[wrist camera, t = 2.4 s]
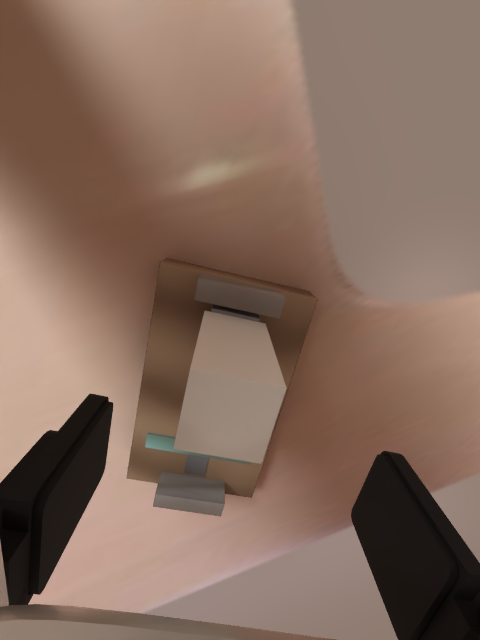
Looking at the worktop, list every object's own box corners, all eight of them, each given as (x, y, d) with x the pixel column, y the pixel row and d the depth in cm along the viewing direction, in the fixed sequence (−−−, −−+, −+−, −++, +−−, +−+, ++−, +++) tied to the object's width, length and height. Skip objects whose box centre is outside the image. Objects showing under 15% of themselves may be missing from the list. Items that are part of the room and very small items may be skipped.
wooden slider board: (166, 258, 20) (152, 268, 17) (309, 291, 21) (327, 308, 18) (134, 458, 26) (117, 501, 22) (250, 477, 27) (253, 521, 23)
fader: (207, 299, 19) (191, 364, 11) (263, 311, 19) (288, 383, 11) (195, 356, 20) (172, 452, 12) (248, 367, 21) (260, 467, 13)
